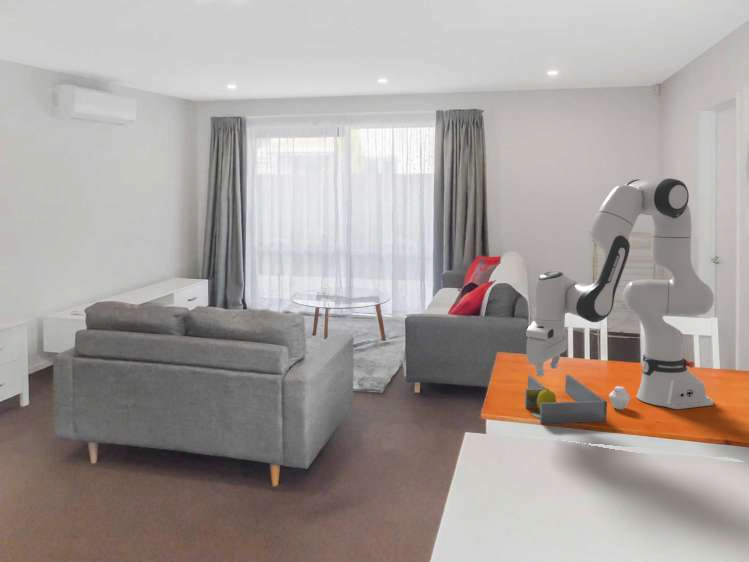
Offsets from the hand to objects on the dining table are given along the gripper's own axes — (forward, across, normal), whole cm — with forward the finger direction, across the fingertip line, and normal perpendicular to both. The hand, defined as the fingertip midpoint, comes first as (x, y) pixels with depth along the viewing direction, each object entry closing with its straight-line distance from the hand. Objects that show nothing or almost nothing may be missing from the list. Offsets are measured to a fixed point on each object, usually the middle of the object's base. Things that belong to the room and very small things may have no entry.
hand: (547, 371), depth 182 cm
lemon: (+13, +1, 0) cm, 13 cm away
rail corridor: (+13, -8, 0) cm, 16 cm away
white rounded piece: (+14, -20, +15) cm, 28 cm away
